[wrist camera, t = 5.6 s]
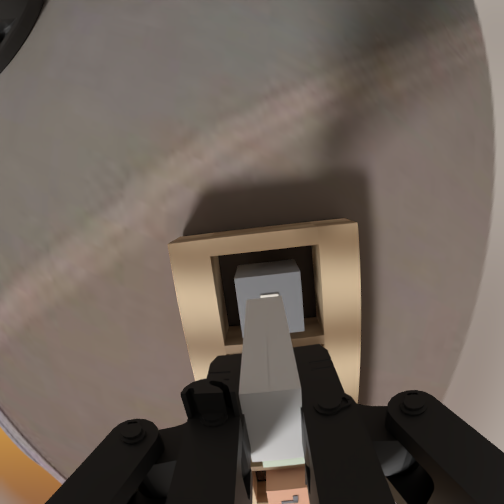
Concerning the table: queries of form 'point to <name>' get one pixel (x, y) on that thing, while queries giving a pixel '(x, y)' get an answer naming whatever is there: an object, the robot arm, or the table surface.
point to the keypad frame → (316, 328)
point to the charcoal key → (271, 289)
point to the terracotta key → (287, 486)
